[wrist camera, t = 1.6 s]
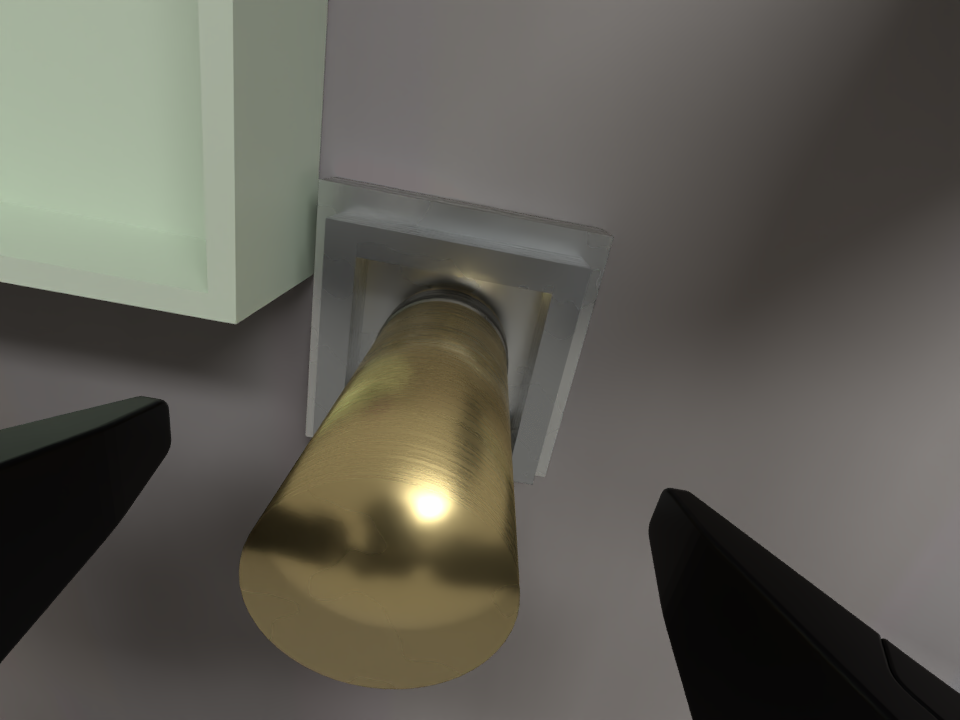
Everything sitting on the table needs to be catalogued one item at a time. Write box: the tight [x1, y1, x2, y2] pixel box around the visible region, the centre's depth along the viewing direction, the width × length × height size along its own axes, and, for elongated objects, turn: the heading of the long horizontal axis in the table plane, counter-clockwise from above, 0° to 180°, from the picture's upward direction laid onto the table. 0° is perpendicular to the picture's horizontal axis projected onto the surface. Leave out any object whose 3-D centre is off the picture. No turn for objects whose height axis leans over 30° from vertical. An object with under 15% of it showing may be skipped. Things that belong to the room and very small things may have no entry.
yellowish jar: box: [239, 287, 520, 689], centre depth 10 cm, size 4×4×9 cm
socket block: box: [306, 177, 614, 485], centre depth 15 cm, size 8×8×3 cm
